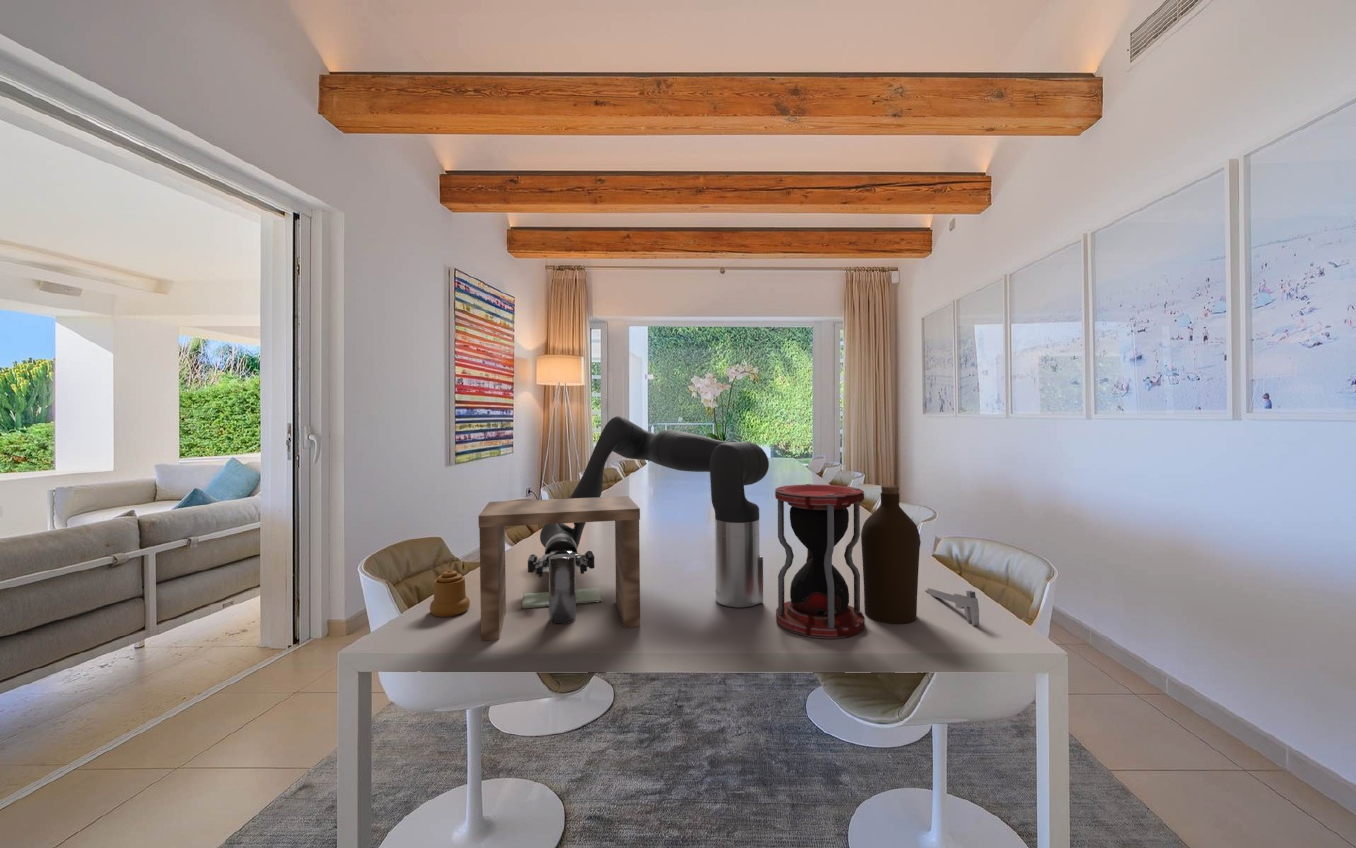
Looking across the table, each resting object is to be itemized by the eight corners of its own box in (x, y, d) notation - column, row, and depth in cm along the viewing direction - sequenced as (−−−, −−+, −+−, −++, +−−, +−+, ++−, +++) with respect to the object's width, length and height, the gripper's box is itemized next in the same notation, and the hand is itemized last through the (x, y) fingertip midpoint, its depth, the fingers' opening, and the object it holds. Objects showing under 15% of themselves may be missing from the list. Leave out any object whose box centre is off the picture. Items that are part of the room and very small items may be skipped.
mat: (598, 590, 124) (598, 588, 124) (601, 602, 116) (601, 599, 116) (524, 596, 120) (523, 593, 120) (521, 608, 113) (521, 606, 113)
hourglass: (786, 640, 96) (785, 496, 95) (768, 608, 112) (767, 484, 111) (878, 638, 96) (878, 494, 96) (847, 606, 112) (846, 483, 112)
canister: (575, 613, 109) (575, 553, 109) (576, 623, 105) (575, 559, 104) (549, 615, 108) (548, 554, 108) (549, 625, 104) (548, 561, 103)
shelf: (629, 599, 117) (628, 496, 117) (641, 628, 102) (639, 508, 101) (490, 611, 111) (489, 501, 111) (480, 643, 96) (478, 516, 95)
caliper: (979, 628, 101) (979, 594, 101) (973, 628, 101) (973, 594, 101) (929, 592, 122) (929, 563, 121) (924, 592, 122) (924, 563, 121)
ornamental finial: (477, 607, 114) (453, 620, 107) (447, 603, 116) (421, 616, 109) (477, 568, 114) (452, 578, 107) (446, 565, 116) (420, 575, 109)
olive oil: (887, 628, 100) (886, 491, 100) (849, 609, 110) (849, 484, 110) (932, 620, 104) (932, 488, 104) (892, 603, 114) (892, 481, 114)
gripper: (529, 538, 130) (526, 554, 114) (591, 534, 133) (595, 550, 117) (530, 569, 130) (526, 591, 114) (591, 565, 133) (596, 585, 117)
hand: (561, 570), depth 116 cm, fingers open, 8 cm apart
